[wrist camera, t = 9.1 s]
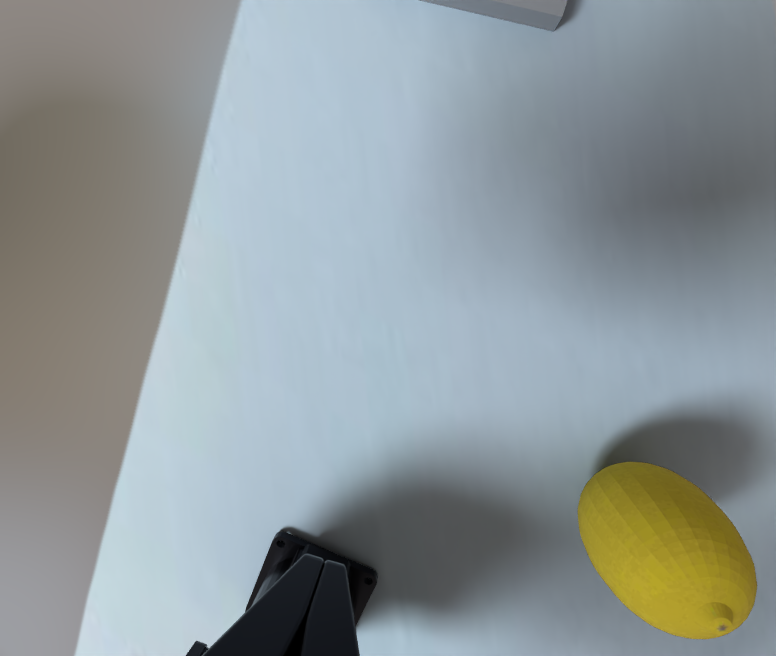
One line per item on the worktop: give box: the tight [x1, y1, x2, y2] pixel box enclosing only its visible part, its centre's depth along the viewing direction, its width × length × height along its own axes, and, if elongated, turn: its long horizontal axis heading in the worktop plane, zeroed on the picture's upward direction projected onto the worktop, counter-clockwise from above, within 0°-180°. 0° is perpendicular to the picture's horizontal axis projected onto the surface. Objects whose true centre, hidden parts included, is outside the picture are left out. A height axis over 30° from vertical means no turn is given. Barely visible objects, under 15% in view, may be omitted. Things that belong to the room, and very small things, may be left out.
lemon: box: [578, 462, 757, 639], centre depth 17 cm, size 6×6×8 cm
